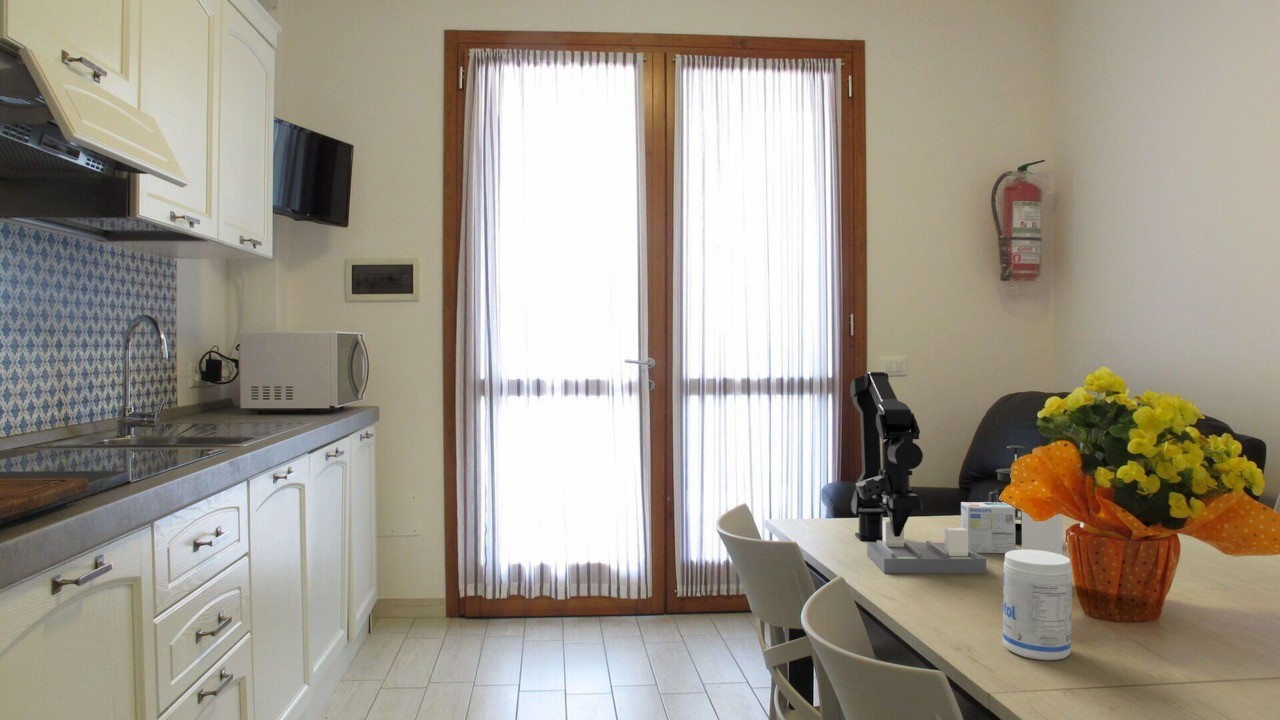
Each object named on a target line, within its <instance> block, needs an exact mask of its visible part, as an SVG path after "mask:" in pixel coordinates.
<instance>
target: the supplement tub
mask: <svg viewBox="0 0 1280 720" xmlns="http://www.w3.org/2000/svg"><path fill="white" fill-rule="evenodd" d="M1002 587H1003V589H1002V590H1003V591H1002V592H1003V593H1002V594H1003V595H1002V596H1003V597H1002V601H1003V602H1002V608H1003V609H1002V643H1003V645H1004V647H1005V648H1006V649H1007V650H1008V651H1010V652H1012V653H1013V654H1016V655H1018V656H1021V657H1024V658H1027V659H1032V660H1038V661H1058V660H1062V659H1065V658H1067V657H1068V656H1069V655H1070V654H1071V653H1072V652H1071V651H1072V613H1073V612H1072V611H1073V610H1072V607H1073V606H1072V605H1073V604H1072V602H1073V594H1072V593H1073V591H1072V590H1073V568H1072V560H1071V559H1070V558H1069V557H1067V556H1065V555H1063V554H1062V555H1061V554H1057V553H1053V552H1048V551H1040V550H1022V549H1015V550H1012V551H1008V552H1007V553H1004V561H1003V586H1002Z"/></svg>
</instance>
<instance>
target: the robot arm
mask: <svg viewBox="0 0 1280 720" xmlns="http://www.w3.org/2000/svg"><path fill="white" fill-rule="evenodd" d="M888 374H889V373H887V372H885V371H868V372H865V373H864V375H861V376H858V377H856V378H854V379H853V380H852V381H851V383H850V386H849V387H850V388H849V389H850V390H849V392H850V397H852V404H853V406H854V407H855V409H856V410H857V412H858V413H859V419H860V420H859V421H860V422H859V424H860V446H861V447H860V448H861V449H860V451H861V474H860V476H859V478H858V479H857V481H856V483H855V489H854V492H853V495H852V499H851V502H850V503H851V504H850V505H851V512H852V513H853V514H854V515H855V516H858V532H855V533H854V535H855V536H856V538H858V539H859V540H860V541H877V540H881V541H882V539H883V520H884V519H883V518H884V516H883V515H887V516H888V520H890V522H891V526H892V530H893V534H894V536H895V537H899V536H900V534H901V532H902V530H903V528H904V529H905V525H906V523H907V521H908V519H909V517H910V515H911V513H912V512H913V510H923V509H924V505H923V504H924V502H923V499H922V498H921V496H919V495H918V494H916V493H913V492H914V490H913V489H912V488H911V487H910V486H911V485H910V484H911V483H910V481H911V479H910V478H911V477H910V476H913V470H914V469H916V468H917V467H919V466H920V465H921V463H922V462H923V458H924V455H923V451H922V449H921V447H920V446H919V445H918V444H916V443H915V442H914V440H920V434H921V431H920V426H919V425H918V420H917V419H916V416H915V414H914V413H913V412H912V409H911V408H910V407H909V406H908V404H906V403H904V402H901V401H900V400H899V399H898V397H897V395H896V393H895V391H894V389H893V386H892V385H891V384H890V381H889V375H888ZM880 439H881V440H880ZM881 441H882V443H881ZM881 457H882V458H881ZM881 459H882V461H881Z"/></svg>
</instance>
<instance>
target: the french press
mask: <svg viewBox="0 0 1280 720" xmlns="http://www.w3.org/2000/svg"><path fill="white" fill-rule="evenodd" d="M1005 447H1006V448H1007V449H1010V450H1013V454H1014V462H1015V461H1016V460H1017V455H1019V450H1024V449H1026V447H1025V446H1021V445H1008V446H1005ZM995 472H996V473H997V480H998V481H1002V482H1007V483H1008V482H1009V483H1012V482H1011V478H1010V473H1011V467H1009V468H998V469H996V470H995ZM1005 488H1006V487H1005ZM1005 488H1004V487H1003V488H997V489H995V491H989V492H988V502H994V495H995V496H996V497H995V498H996V500H995V501H996V502H998V503H1001V499H1000V500H999V496H1000V494H1001V492H1002V491H1003V490H1004V489H1005ZM1016 520H1019V521H1020V523H1018V522H1015V545H1021V546H1022V511H1021V510H1019V509H1016V508H1015V521H1016Z"/></svg>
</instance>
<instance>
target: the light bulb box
mask: <svg viewBox="0 0 1280 720" xmlns="http://www.w3.org/2000/svg"><path fill="white" fill-rule="evenodd" d="M1011 505H1012V504H1011ZM1011 505H1009V504H1007V503H1005V502H1004V501H1003V502H1001V501H1000V503H998V502H995V501H993V502H989V501H987V502H986V501H983V502H982V501H981V502H980V501H979V502H976V501H975V502H973V501H972V502H971V501H970V502H969V501H968V502H967V501H966V502H965V501H961V502H960V518H961V519H960V524H961V525H960V528H965V529H966V530H968V547H969V548H970V549H972V550H973V551H975V552H976V553H978V554H1006V553H1007V552H1008V551H1012V550H1016V544H1015V523H1016V519H1015V508H1014V507H1015V506H1014V507H1012V506H1013V505H1012V506H1011Z"/></svg>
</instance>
